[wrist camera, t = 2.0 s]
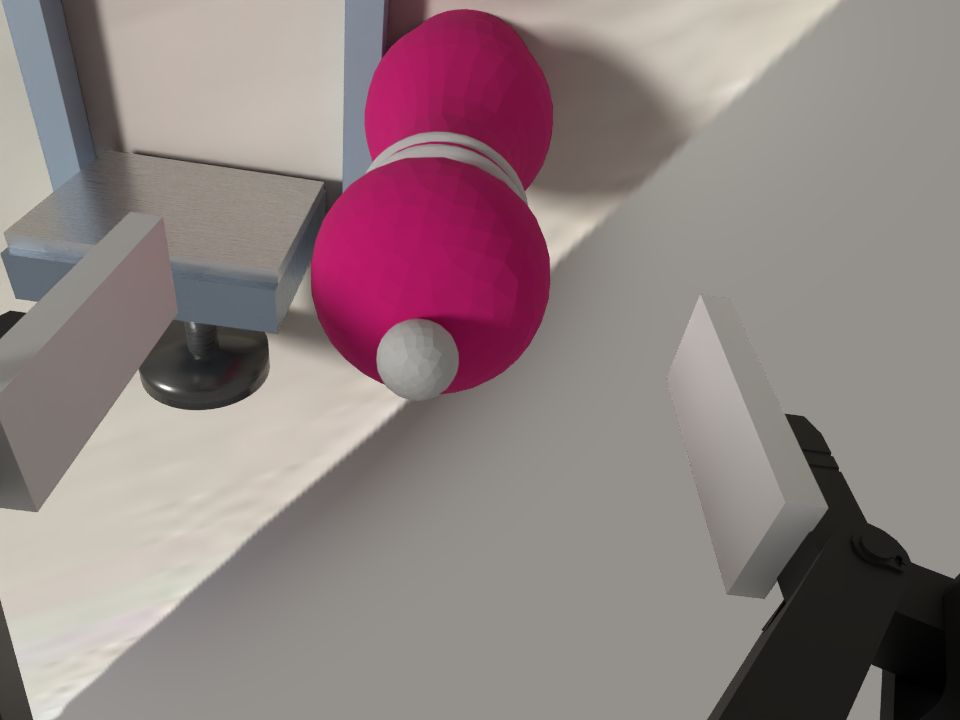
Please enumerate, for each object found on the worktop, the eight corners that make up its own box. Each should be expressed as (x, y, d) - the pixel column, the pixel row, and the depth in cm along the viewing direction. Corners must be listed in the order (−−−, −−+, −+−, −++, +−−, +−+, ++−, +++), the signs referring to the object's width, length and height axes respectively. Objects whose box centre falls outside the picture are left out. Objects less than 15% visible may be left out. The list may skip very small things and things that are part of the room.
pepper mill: (577, 39, 28) (659, 311, 13) (507, 189, 32) (504, 531, 17) (413, -37, 27) (274, 164, 11) (363, 131, 31) (210, 447, 15)
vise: (-54, -311, 22) (-315, -372, 15) (401, -228, 23) (352, -249, 16) (83, 230, 35) (-26, 334, 28) (375, 271, 36) (341, 382, 29)
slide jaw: (110, 145, 31) (-5, 239, 24) (326, 177, 32) (274, 277, 25) (143, 304, 37) (57, 417, 30) (326, 329, 38) (283, 445, 31)
